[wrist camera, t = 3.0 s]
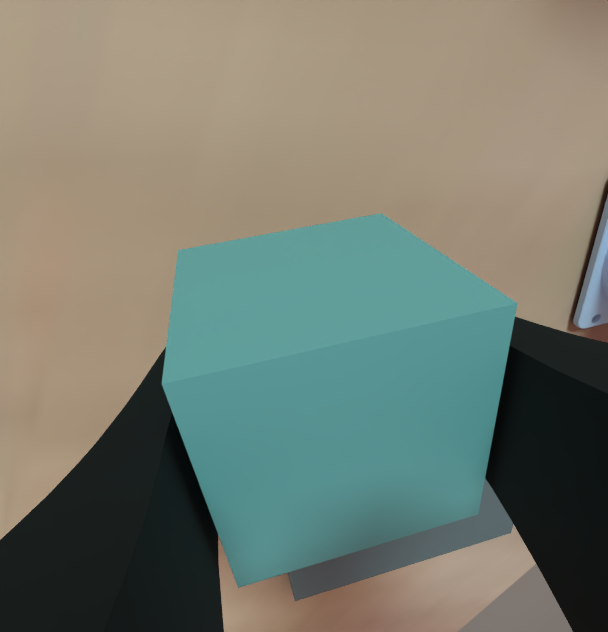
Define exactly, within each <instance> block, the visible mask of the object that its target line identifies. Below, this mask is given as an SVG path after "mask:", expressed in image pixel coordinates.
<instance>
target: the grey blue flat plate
mask: <svg viewBox="0 0 608 632" xmlns="http://www.w3.org/2000/svg"><path fill="white" fill-rule="evenodd" d="M512 527H513V522H512V521H511V519H510V517H509V516H508V514H507V512H506V511H505V509H504V507H503V506H502V504H501V502H500V501H499V499H498V497H497V496H496V494H495V493H494V491H493V489H492V488H491V486H490V485H489V483H488V482H487V480H486V479H485V481H484V487H483V492H482V497H481V503H480V508H479V514H478V515H474V516H471V517H468V518H465V519H461V520H458V521H455V522H452V523H448V524H445V525H442V526H438V527H435V528H432V529H429V530H425V531H422V532H419V533H416V534H412V535H409V536H406V537H402V538H399V539H396V540H393V541H389V542H386V543H383V544H380V545H376V546H373V547H370V548H366V549H363V550H360V551H357V552H353V553H350V554H347V555H344V556H340V557H337V558H334V559H330V560H327V561H324V562H321V563H317V564H314V565H311V566H308V567H304V568H301V569H298V570H294V571H291V572H288V575H289V579H290V583H291V587H292V591H293V595H294V599H295V601H297V600H300V599H303V598H307V597H310V596H313V595H316V594H319V593H322V592H326V591H329V590H332V589H335V588H338V587H341V586H345V585H348V584H351V583H354V582H357V581H360V580H363V579H367V578H370V577H373V576H376V575H379V574H382V573H386V572H389V571H392V570H395V569H398V568H401V567H405V566H408V565H411V564H414V563H417V562H420V561H423V560H427V559H430V558H433V557H436V556H439V555H442V554H446V553H449V552H452V551H455V550H458V549H461V548H465V547H468V546H471V545H474V544H477V543H480V542H483V541H487V540H490V539H493V538H496V537H499V536H502V535H506V534H509V533H511V531H512Z"/></svg>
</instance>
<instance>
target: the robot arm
mask: <svg viewBox="0 0 608 632" xmlns="http://www.w3.org/2000/svg"><path fill="white" fill-rule="evenodd" d="M573 323H574V325H576V326H577V327H579V328H581V329H585V328H589V327H593V326H597V325H601V324H605V323H608V195H607V199H606V203H605V206H604V210H603V214H602V217H601V221H600V225H599V228H598V232H597V236H596V239H595V243H594V246H593V250H592V254H591V257H590V261H589V265H588V268H587V272H586V276H585V279H584V283H583V287H582V290H581V294H580V298H579V301H578V305H577V309H576V312H575V316H574V321H573ZM165 353H166V347H165V349H164V350H163V352H162V353H161V354H160V356H159V357H158V359H157V360H156V362H155V363H154V365H153V366H152V368H151V369H150V371H149V372H148V374H147V375H146V377H145V378H144V380H143V381H142V383H141V384H140V386H139V387H138V389H137V390H136V391H135V393H134V394H133V396H132V397H131V398H130V400H129V401H128V403H127V404H126V405H125V407H124V408H123V410H122V411H121V412H120V413H119V415H118V416H117V417H116V418H115V420H114V421H113V422H112V424H111V425H110V426H109V427H108V429H107V430H106V431H105V432H104V434H103V435H102V436H101V437H100V439H99V440H98V441H97V442H96V444H95V445H94V446H93V447H92V448H91V449H90V451H89V452H88V453H87V454H86V455H85V456H84V457H83V458H82V460H81V461H80V462H79V463H78V464H77V465H76V466H75V467H74V468H73V469H72V470H71V472H70V473H69V474H68V475H67V476H66V477H65V478H64V479H63V480H62V481H61V482H60V483H59V484H58V485H57V486H56V487H55V488H54V489H53V491H52V492H51V493H50V494H49V495H48V496H47V497H46V498H45V499H44V500H43V501H41V502H40V503H39V504H38V505H37V506H36V507H35V508H34V509H33V510H32V511H31V512H30V513H29V514H28V515H27V516H25V517H24V518H23V519H22V520H21V521H20V522H19V523H18V524H17V525H16V526H15V527H14V528H13V529H12V530H11V531H10V532H8V533H7V534H6V535H5V536H4V537H3V538H2V539H1V540H0V632H224V629H223V617H222V604H221V591H220V578H219V565H218V532H217V530H216V527H215V524H214V522H213V519H212V517H211V514H210V511H209V509H208V506H207V503H206V501H205V498H204V495H203V493H202V490H201V487H200V485H199V482H198V479H197V477H196V474H195V471H194V469H193V466H192V463H191V461H190V458H189V455H188V453H187V450H186V447H185V445H184V442H183V439H182V437H181V434H180V431H179V429H178V426H177V424H176V421H175V418H174V416H173V413H172V410H171V408H170V405H169V402H168V400H167V397H166V394H165V392H164V389H163V386H162V377H163V369H164V361H165ZM485 479H486V480H487V482H488V483H489V485H490V486H491V488H492V489H493V491H494V493H495V494H496V496H497V497H498V499H499V501H500V502H501V504H502V506H503V507H504V509H505V511H506V512H507V514H508V516H509V517H510V519H511V521H512V522H513V524H514V525H515V527H516V529H517V531H518V532H519V534H520V536H521V538H522V539H523V541H524V543H525V545H526V546H527V548H528V550H529V552H530V553H531V555H532V557H533V559H534V560H535V562H536V564H537V565H538V567H539V569H540V571H541V572H542V574H543V576H544V578H545V580H546V581H547V584H548V585H549V587H550V589H551V591H552V593H553V595H554V596H555V598H556V600H557V602H558V604H559V606H560V608H561V610H562V611H563V613H564V615H565V617H566V619H567V620H568V623H569V624H570V626H571V628H572V630H573V632H608V343H606V342H601V341H597V340H593V339H589V338H585V337H581V336H577V335H573V334H570V333H566V332H563V331H560V330H556V329H553V328H550V327H546V326H543V325H539V324H536V323H533V322H530V321H527V320H524V319H521V318H518V317H515V319H514V324H513V330H512V335H511V340H510V346H509V351H508V357H507V362H506V367H505V373H504V378H503V384H502V389H501V395H500V400H499V405H498V411H497V416H496V422H495V427H494V432H493V438H492V443H491V449H490V454H489V460H488V465H487V470H486V476H485Z"/></svg>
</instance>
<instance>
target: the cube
mask: <svg viewBox="0 0 608 632" xmlns="http://www.w3.org/2000/svg"><path fill="white" fill-rule="evenodd" d="M516 308H517V303H516V302H515V301H513V300H512V299H510V298H509V297H507V296H506V295H504V294H502V293H501V292H499V291H498V290H496V289H495V288H493V287H492V286H490V285H489V284H487V283H486V282H484V281H483V280H481V279H480V278H478V277H477V276H475V275H474V274H472V273H471V272H469V271H468V270H466V269H465V268H463V267H462V266H460V265H459V264H457V263H456V262H454V261H453V260H451V259H450V258H448V257H447V256H445V255H444V254H442V253H440V252H439V251H437V250H436V249H434V248H433V247H431V246H430V245H428V244H427V243H425V242H424V241H422V240H421V239H419V238H418V237H416V236H415V235H413V234H412V233H410V232H409V231H407V230H406V229H404V228H403V227H401V226H400V225H398V224H397V223H395V222H394V221H392V220H391V219H389V218H388V217H386V216H385V215H383V214H381V213H380V214H375V215H369V216H364V217H358V218H353V219H347V220H342V221H336V222H331V223H325V224H320V225H314V226H309V227H303V228H298V229H292V230H287V231H281V232H276V233H270V234H265V235H259V236H254V237H248V238H243V239H237V240H232V241H226V242H221V243H215V244H210V245H204V246H199V247H193V248H188V249H182V250H178V256H177V264H176V272H175V280H174V288H173V296H172V304H171V312H170V321H169V329H168V337H167V345H166V353H165V361H164V369H163V377H162V386H163V389H164V392H165V394H166V397H167V400H168V402H169V405H170V408H171V410H172V413H173V416H174V418H175V421H176V424H177V426H178V429H179V431H180V434H181V437H182V439H183V442H184V445H185V447H186V450H187V453H188V455H189V458H190V461H191V463H192V466H193V469H194V471H195V474H196V477H197V479H198V482H199V485H200V487H201V490H202V493H203V495H204V498H205V501H206V503H207V506H208V509H209V511H210V514H211V517H212V519H213V522H214V524H215V527H216V530H217V532H218V535H219V538H220V540H221V543H222V546H223V548H224V551H225V554H226V556H227V559H228V562H229V564H230V567H231V570H232V572H233V575H234V578H235V580H236V583H237V586H238V588H239V587H242V586H245V585H249V584H252V583H255V582H258V581H262V580H265V579H268V578H271V577H275V576H278V575H281V574H285V573H288V572H291V571H294V570H298V569H301V568H304V567H308V566H311V565H314V564H317V563H321V562H324V561H327V560H330V559H334V558H337V557H340V556H344V555H347V554H350V553H353V552H357V551H360V550H363V549H366V548H370V547H373V546H376V545H380V544H383V543H386V542H389V541H393V540H396V539H399V538H402V537H406V536H409V535H412V534H416V533H419V532H422V531H425V530H429V529H432V528H435V527H438V526H442V525H445V524H448V523H452V522H455V521H458V520H461V519H465V518H468V517H471V516H474V515H478V514H479V508H480V503H481V497H482V492H483V487H484V481H485V476H486V470H487V465H488V460H489V454H490V449H491V443H492V438H493V432H494V427H495V422H496V416H497V411H498V405H499V400H500V395H501V389H502V384H503V378H504V373H505V367H506V362H507V357H508V351H509V346H510V340H511V335H512V330H513V324H514V319H515V313H516Z"/></svg>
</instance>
